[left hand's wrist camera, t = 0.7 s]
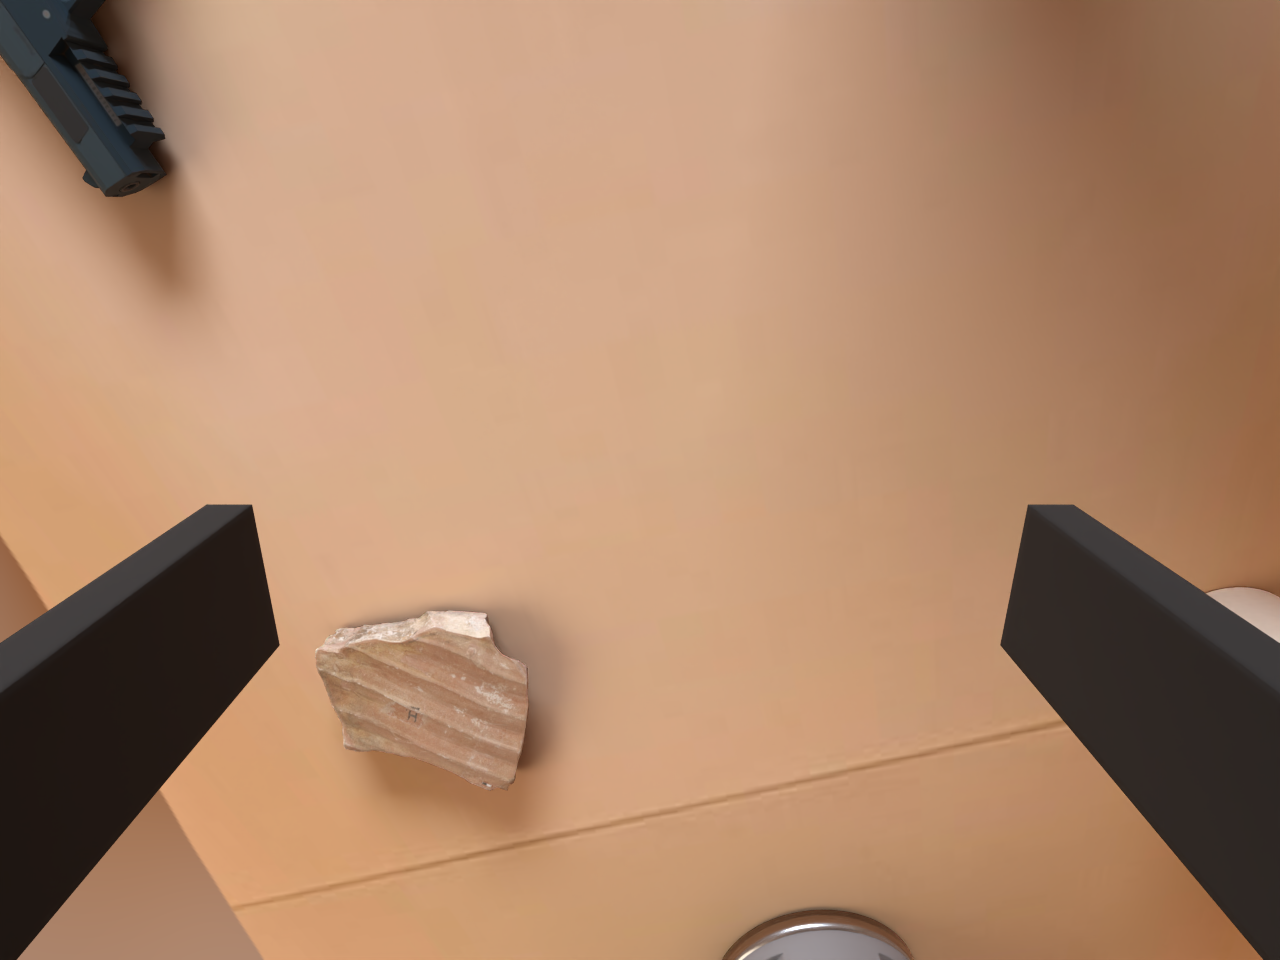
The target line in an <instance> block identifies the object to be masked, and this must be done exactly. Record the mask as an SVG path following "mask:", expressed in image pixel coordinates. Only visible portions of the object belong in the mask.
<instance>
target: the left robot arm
mask: <svg viewBox="0 0 1280 960" xmlns="http://www.w3.org/2000/svg"><path fill="white" fill-rule="evenodd" d="M278 646H279V640H278V635H277V629H276V624H275V619H274V614H273V609H272V604H271V599H270V594H269V589H268V584H267V579H266V574H265V568H264V563H263V558H262V553H261V548H260V543H259V538H258V533H257V528H256V523H255V518H254V513H253V507H252V505H205V506H204V507H202V508H201V509H200V510H198V511H197V512H195V513H194V514H192V515H191V516H189V517H188V518H186V519H185V520H183V521H182V522H180V523H179V524H177V525H176V526H174V527H173V528H171V529H170V530H168V531H167V532H165V533H164V534H162V535H161V536H159V537H158V538H156V539H155V540H153V541H152V542H150V543H149V544H147V545H146V546H144V547H143V548H141V549H140V550H138V551H137V552H135V553H134V554H132V555H131V556H129V557H128V558H126V559H125V560H123V561H122V562H120V563H119V564H117V565H116V566H114V567H113V568H111V569H110V570H109V571H107V572H106V573H104V574H103V575H101V576H100V577H98V578H97V579H95V580H94V581H92V582H91V583H89V584H88V585H86V586H85V587H83V588H82V589H80V590H79V591H77V592H76V593H74V594H73V595H71V596H70V597H68V598H67V599H65V600H64V601H62V602H61V603H59V604H58V605H56V606H55V607H53V608H52V609H50V610H49V611H47V612H46V613H44V614H43V615H41V616H40V617H38V618H37V619H35V620H34V621H33V622H31V623H29V624H28V625H26V626H25V627H23V628H22V629H21V630H19V631H18V632H16V633H15V634H13V635H12V636H10V637H9V638H7V639H6V640H4V641H3V642H1V643H0V960H17V959H18V957H19V956H20V955H21V954H22V953H23V951H24V950H25V949H26V948H27V947H28V945H29V944H30V943H31V942H32V941H33V939H34V938H35V937H36V936H37V935H38V933H39V932H40V931H41V930H42V929H43V928H44V926H45V925H46V924H47V923H48V922H49V920H50V919H51V918H52V917H53V916H54V914H55V913H56V912H57V911H58V910H59V908H60V907H61V906H62V905H63V904H64V902H65V901H66V900H67V899H68V898H69V896H70V895H71V894H72V893H73V892H74V890H75V889H76V888H77V887H78V886H79V884H80V883H81V882H82V881H83V880H84V878H85V877H86V876H87V875H88V874H89V872H90V871H91V870H92V869H93V868H94V867H95V865H96V864H97V863H98V862H99V861H100V859H101V858H102V857H103V856H104V855H105V853H106V852H107V851H108V850H109V849H110V847H111V846H112V845H113V844H114V843H115V841H116V840H117V839H118V838H119V837H120V835H121V834H122V833H123V832H124V831H125V829H126V828H127V827H128V826H129V825H130V823H131V822H132V821H133V820H134V819H135V817H136V816H137V815H138V814H139V813H140V812H141V810H142V809H143V808H144V807H145V806H146V804H147V803H148V802H149V801H150V800H151V798H152V797H153V796H154V795H155V794H156V792H157V791H158V790H159V789H160V788H161V786H162V785H163V784H164V783H165V782H166V780H167V779H168V778H169V777H170V776H171V774H172V773H173V772H174V771H175V770H176V768H177V767H178V766H179V765H180V764H181V762H182V761H183V760H184V759H185V758H186V757H187V755H188V754H189V753H190V752H191V751H192V749H193V748H194V747H195V746H196V745H197V743H198V742H199V741H200V740H201V739H202V737H203V736H204V735H205V734H206V733H207V731H208V730H209V729H210V728H211V727H212V725H213V724H214V723H215V722H216V721H217V719H218V718H219V717H220V716H221V715H222V713H223V712H224V711H225V710H226V709H227V707H228V706H229V705H230V704H231V703H232V701H233V700H234V699H235V698H236V697H237V696H238V694H239V693H240V692H241V691H242V690H243V688H244V687H245V686H246V685H247V684H248V682H249V681H250V680H251V679H252V678H253V676H254V675H255V674H256V673H257V672H258V670H259V669H260V668H261V667H262V666H263V664H264V663H265V662H266V661H267V660H268V658H269V657H270V656H271V655H272V654H273V652H274V651H275V650H276V649H277V648H278ZM1001 646H1002V648H1003V649H1004V650H1005V651H1006V652H1007V654H1008V655H1009V656H1010V657H1011V658H1012V660H1013V661H1014V662H1015V663H1016V664H1017V666H1018V667H1019V668H1020V669H1021V670H1022V672H1023V673H1024V674H1025V675H1026V676H1027V678H1028V679H1029V680H1030V681H1031V682H1032V684H1033V685H1034V686H1035V687H1036V688H1037V690H1038V691H1039V692H1040V693H1041V694H1042V696H1043V697H1044V698H1045V699H1046V700H1047V701H1048V703H1049V704H1050V705H1051V706H1052V707H1053V709H1054V710H1055V711H1056V712H1057V713H1058V715H1059V716H1060V717H1061V718H1062V719H1063V721H1064V722H1065V723H1066V724H1067V725H1068V727H1069V728H1070V729H1071V730H1072V731H1073V733H1074V734H1075V735H1076V736H1077V737H1078V739H1079V740H1080V741H1081V742H1082V743H1083V745H1084V746H1085V747H1086V748H1087V749H1088V751H1089V752H1090V753H1091V754H1092V755H1093V757H1094V758H1095V759H1096V760H1097V761H1098V762H1099V764H1100V765H1101V766H1102V767H1103V768H1104V770H1105V771H1106V772H1107V773H1108V774H1109V776H1110V777H1111V778H1112V779H1113V780H1114V782H1115V783H1116V784H1117V785H1118V786H1119V788H1120V789H1121V790H1122V791H1123V792H1124V794H1125V795H1126V796H1127V797H1128V798H1129V800H1130V801H1131V802H1132V803H1133V804H1134V806H1135V807H1136V808H1137V809H1138V810H1139V812H1140V813H1141V814H1142V815H1143V816H1144V817H1145V819H1146V820H1147V821H1148V822H1149V823H1150V825H1151V826H1152V827H1153V828H1154V829H1155V831H1156V832H1157V833H1158V834H1159V835H1160V837H1161V838H1162V839H1163V840H1164V841H1165V843H1166V844H1167V845H1168V846H1169V847H1170V849H1171V850H1172V851H1173V852H1174V853H1175V855H1176V856H1177V857H1178V858H1179V859H1180V861H1181V862H1182V863H1183V864H1184V865H1185V867H1186V868H1187V869H1188V870H1189V871H1190V873H1191V874H1192V875H1193V876H1194V877H1195V878H1196V880H1197V881H1198V882H1199V883H1200V884H1201V886H1202V887H1203V888H1204V889H1205V890H1206V892H1207V893H1208V894H1209V895H1210V896H1211V898H1212V899H1213V900H1214V901H1215V902H1216V904H1217V905H1218V906H1219V907H1220V908H1221V910H1222V911H1223V912H1224V913H1225V914H1226V916H1227V917H1228V918H1229V919H1230V920H1231V922H1232V923H1233V924H1234V925H1235V926H1236V928H1237V929H1238V930H1239V931H1240V932H1241V933H1242V935H1243V936H1244V937H1245V938H1246V939H1247V941H1248V942H1249V943H1250V944H1251V945H1252V947H1253V948H1254V949H1255V950H1256V951H1257V953H1258V954H1259V955H1260V956H1261V957H1262V959H1263V960H1280V643H1279V642H1277V641H1276V640H1274V639H1273V638H1271V637H1270V636H1268V635H1267V634H1265V633H1264V632H1262V631H1261V630H1259V629H1258V628H1257V627H1255V626H1254V625H1252V624H1251V623H1249V622H1248V621H1246V620H1245V619H1243V618H1242V617H1240V616H1239V615H1237V614H1236V613H1234V612H1233V611H1231V610H1230V609H1228V608H1227V607H1225V606H1224V605H1222V604H1221V603H1219V602H1218V601H1216V600H1215V599H1213V598H1212V597H1210V596H1209V595H1207V594H1206V593H1204V592H1203V591H1201V590H1200V589H1198V588H1197V587H1195V586H1194V585H1192V584H1191V583H1189V582H1188V581H1186V580H1185V579H1183V578H1182V577H1180V576H1179V575H1177V574H1176V573H1174V572H1173V571H1171V570H1170V569H1169V568H1167V567H1166V566H1164V565H1163V564H1161V563H1160V562H1158V561H1157V560H1155V559H1154V558H1152V557H1151V556H1149V555H1148V554H1146V553H1145V552H1143V551H1142V550H1140V549H1139V548H1137V547H1136V546H1134V545H1133V544H1131V543H1130V542H1128V541H1127V540H1125V539H1124V538H1122V537H1121V536H1119V535H1118V534H1116V533H1115V532H1113V531H1112V530H1110V529H1109V528H1107V527H1106V526H1104V525H1103V524H1101V523H1100V522H1098V521H1097V520H1095V519H1094V518H1092V517H1091V516H1089V515H1088V514H1086V513H1085V512H1083V511H1082V510H1080V509H1079V508H1078V507H1076V506H1075V505H1028V507H1027V513H1026V518H1025V523H1024V528H1023V533H1022V538H1021V543H1020V548H1019V553H1018V558H1017V563H1016V568H1015V574H1014V579H1013V584H1012V589H1011V594H1010V599H1009V604H1008V609H1007V614H1006V619H1005V624H1004V629H1003V635H1002V640H1001ZM722 960H914V959H913V957H912V954H911V952H910V950H909V949H908V947H907V946H906V944H905V943H904V942H903V940H902V939H901V938H900V937H899V936H898V935H897V934H896V933H895V932H893V931H892V930H891V929H889V928H888V927H886V926H885V925H883V924H881V923H879V922H877V921H875V920H873V919H871V918H868V917H865V916H862V915H858V914H855V913H850V912H845V911H836V910H811V911H802V912H797V913H792V914H788V915H784V916H781V917H778V918H775V919H772V920H770V921H767V922H765V923H763V924H761V925H759V926H757V927H755V928H754V929H752V930H751V931H749V932H747V933H746V934H745V935H744V936H742V937H741V938H740V939H739V940H738V941H737V942H735V943H734V944H733V946H732V947H731V948H730V949H729V950H728V951H727V953H726V954H725V956H724V957H723V959H722Z"/></svg>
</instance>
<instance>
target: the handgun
mask: <svg viewBox="0 0 1280 960" xmlns="http://www.w3.org/2000/svg"><path fill="white" fill-rule="evenodd" d="M104 1H105V0H0V55H1V56H2V58H3V59H4V61H5V62H6V63H7V65H8V66H9V67H10V69H12V70H13V71H14V72H15V73H16V75H17V76H18V78H19V79H20V80H21V82H22V83H23V84H24V86H25V87H26V88H27V90H28V91H29V93H30V94H31V95H32V97H33V98H34V99H35V101H36V102H37V103H38V105H39V106H40V108H41V109H42V110H43V112H44V113H45V114H46V116H47V117H48V118H49V120H50V121H51V123H52V124H53V125H54V127H55V128H56V129H57V131H58V132H59V133H60V135H61V136H62V138H63V139H64V140H65V142H66V143H67V144H68V146H69V147H70V148H71V150H72V151H73V152H74V154H75V155H76V157H77V158H78V159H79V161H80V162H81V163H82V165H83V166H84V167H85V169H86V171H85V174H84V176H83V180H84V181H85V182H86V183H88V184H89V185H91V186H93V187H95V188H100V189H101V191H102V192H103V193H104V195H105V196H106V197H123V196H126V195H130V194H133V193H136V192H138V191H141V190H143V189H144V188H146V187H148V186H149V185H151V184H153V183H154V182H156V181H157V180H159V179H160V178H162V177H163V176H165V175H167V174H166V173H165V171H164V170H163V169H162V167H161V166H160V164H159V163H158V162H157V160H156V159H155V157H154V156H153V155H152V153H151V152H150V150H149V149H148V148H149V147H150V146H151V144H152V143H153V142H155V141H159V140H162V139H165V135H164V133H163V132H162V130H161V129H160V128H156V127H154V125H153V124H152V122H154V118H153V117H152V116H151V114H150V113H149V111H148V110H143V109H142V108H141V107H140V105H141V100H140V98H139V97H138V95H137V94H136V93H133V92H130V91H129V89H128V88H127V87H129V82H128V81H127V79H126V78H125V76H123V75H119V74H118V73H117V72H116V70H118V69H117V65H116V63H115V62H114V60H113V59H112V57H109V56H105V54H104V53H103V51H106V50H108V48H107V45H106V43H105V42H104V40H103V38H102V37H101V35H100V34H99V32H98V31H97V29H96V27H95V26H94V24H93V23H92V21H91V20H90V19H91V17H92V16H93V15H94V14H95V12H96V11H97V10H98V9H99V7H100V6H101V5H102V4H103V3H104Z"/></svg>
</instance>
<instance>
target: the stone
mask: <svg viewBox="0 0 1280 960" xmlns="http://www.w3.org/2000/svg"><path fill="white" fill-rule="evenodd" d="M335 631H336V634H334V635H330V636H328V637H327V639H326V640H325V643H324V644H323V645H322V646H321V647H319V648H317V649H316V653H315V658H316V667H317V670H318V673H319V675H320V676H321V678H322V680H323V682H324V685H325V688H326V691H327V694H328V696H329V698H330V701H331V704H332V706H333V708H334V710H335V712H336V713H337V715H338V717H339V719H340V721H341V723H342V726H343V742H344V748H345V749H348V750H352V751H358V752H368V751H381V752H385V753H392V754H395V755H399V756H404V757H412V758H415V759H418V760H421V761H424V762H427V763H429V764H432V765H434V766H437V767H440V768H442V769H445V770H447V771H450V772H452V773H454V774H456V775H458V776H459V777H461V778H464V779H465V780H466V781H468V782H469V783H471V784H474V785H477V786H479V787H481V788H484V789H487V790H493V789H495V788H501V789H504V790H508V787H509V785H510V784H512V783H513V782H514V780H515V773H516V769H517V766H518V760H519V758H520V756H521V753H522V748H523V744H524V737H525V735H524V733H525V728H526V722H527V717H528V706H529V701H528V674H527V666H526V665H524V664H523V663H522V662H520V661H519V660H514V659H511V658H509V657H507V656H505V655H503V654H502V653H501V652H500V651H499V650H498V648H497V647H496V645H495V643H494V639H493V633H492V629H491V628H490V626H489V624H488V616H487V614H485V613H479V612H464V611H446V612H444V611H427V612H425V613H424V614H423V615H422V616H421V617H419V618H411V619H407V620H405V621H401V622H394V623H382V624H376V625H363V626H360V627H357V628H341V629H337V630H335Z"/></svg>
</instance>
